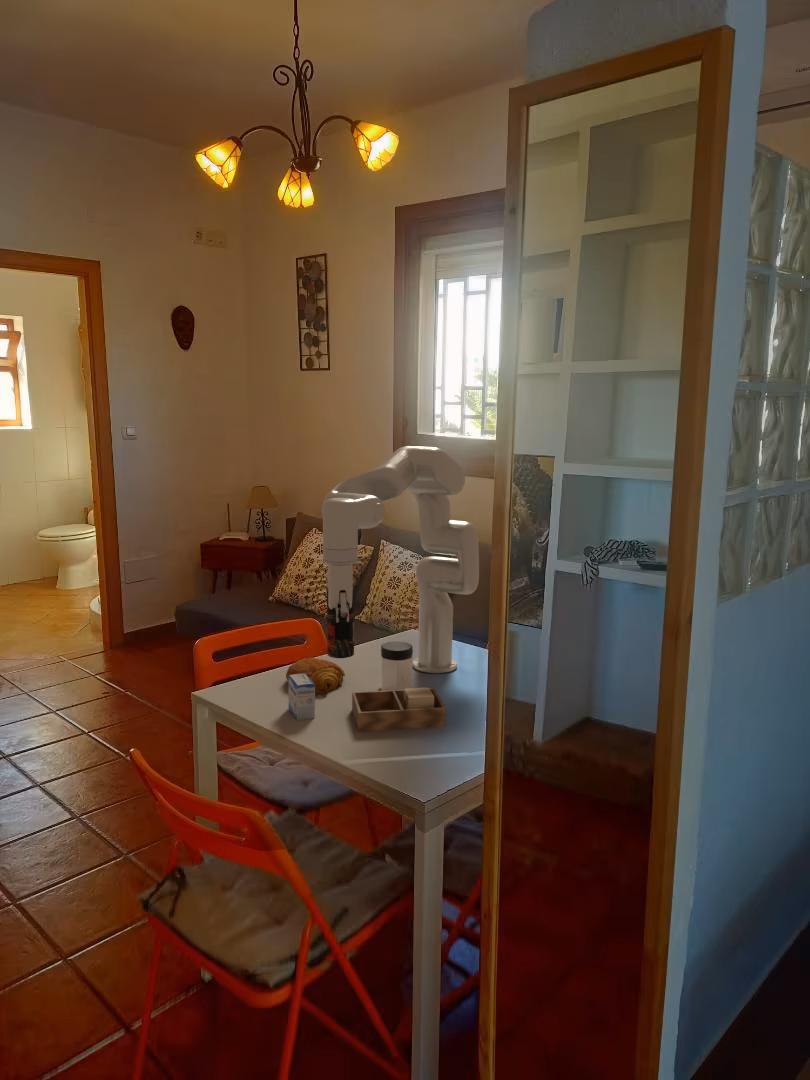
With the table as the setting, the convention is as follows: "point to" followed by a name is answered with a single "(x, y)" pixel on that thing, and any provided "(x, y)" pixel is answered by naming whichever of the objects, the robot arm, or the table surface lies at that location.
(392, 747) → the table surface
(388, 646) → the jar
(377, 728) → the box
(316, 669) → the croissant
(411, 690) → the beech block
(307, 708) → the medicine box
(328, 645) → the deodorant
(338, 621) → the robot arm
